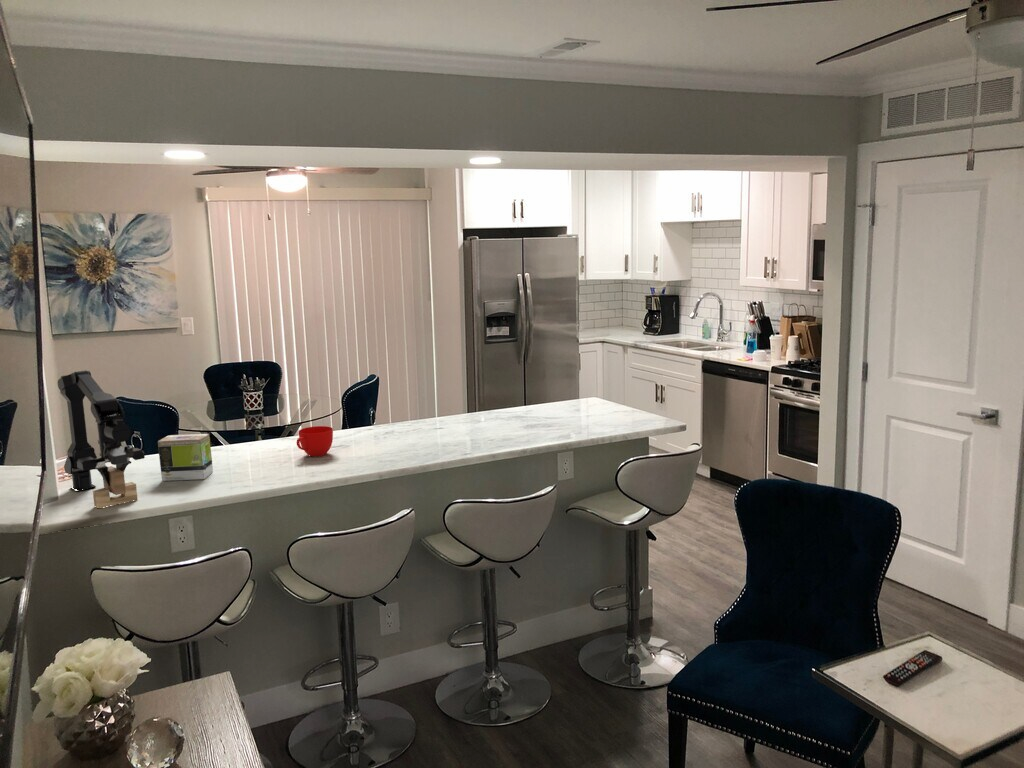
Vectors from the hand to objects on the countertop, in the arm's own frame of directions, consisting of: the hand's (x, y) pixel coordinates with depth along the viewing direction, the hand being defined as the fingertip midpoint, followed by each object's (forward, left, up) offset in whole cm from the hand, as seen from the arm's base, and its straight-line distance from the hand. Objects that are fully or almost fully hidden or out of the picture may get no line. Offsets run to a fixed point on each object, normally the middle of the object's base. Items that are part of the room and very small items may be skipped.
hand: (114, 484), depth 257 cm
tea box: (-12, +29, -6) cm, 32 cm away
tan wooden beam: (0, 0, -2) cm, 2 cm away
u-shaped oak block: (0, 0, -6) cm, 6 cm away
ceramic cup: (-1, +74, -6) cm, 74 cm away
